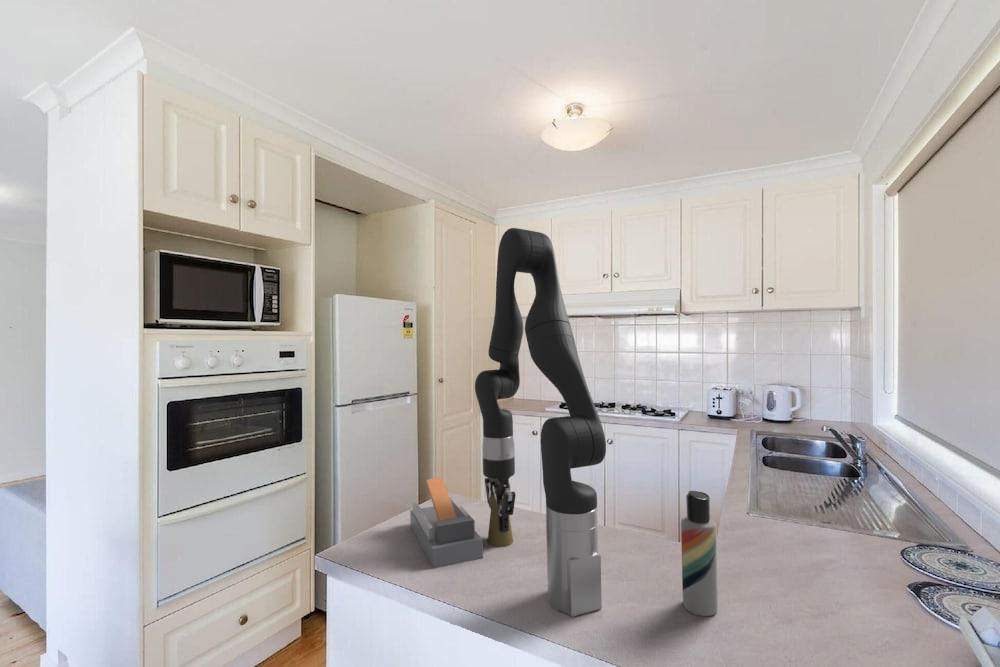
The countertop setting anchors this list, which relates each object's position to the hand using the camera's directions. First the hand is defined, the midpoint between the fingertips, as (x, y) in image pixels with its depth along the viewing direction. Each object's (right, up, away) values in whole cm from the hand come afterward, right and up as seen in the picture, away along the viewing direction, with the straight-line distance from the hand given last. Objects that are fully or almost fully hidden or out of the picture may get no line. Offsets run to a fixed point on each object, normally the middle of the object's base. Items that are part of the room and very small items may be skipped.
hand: (500, 527), depth 110 cm
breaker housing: (-13, -4, +1) cm, 14 cm away
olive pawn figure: (0, -3, 0) cm, 3 cm away
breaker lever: (-14, +4, +2) cm, 14 cm away
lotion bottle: (+35, -3, -28) cm, 45 cm away
